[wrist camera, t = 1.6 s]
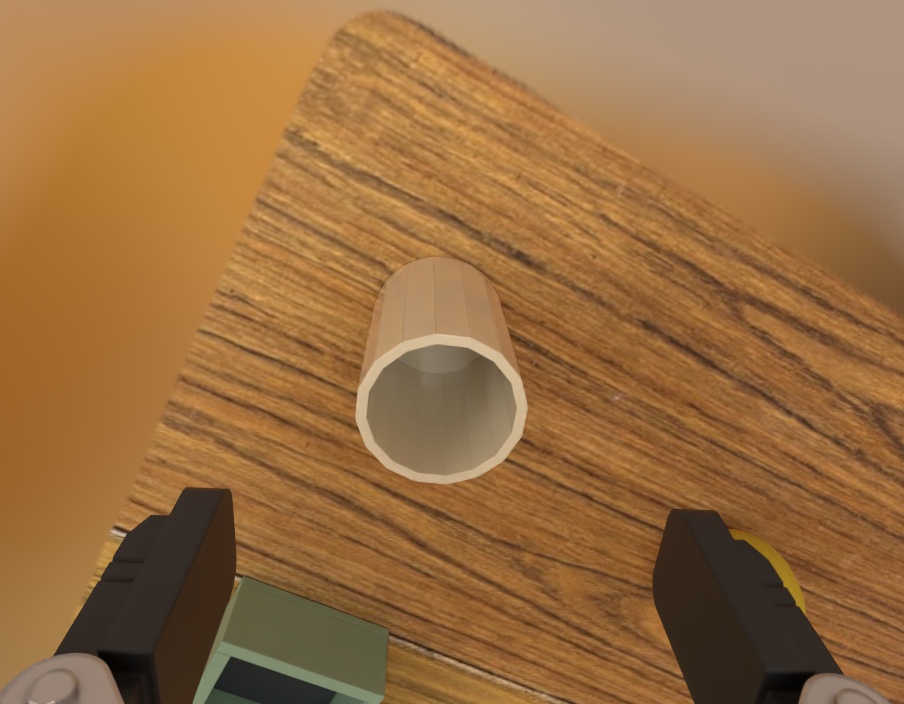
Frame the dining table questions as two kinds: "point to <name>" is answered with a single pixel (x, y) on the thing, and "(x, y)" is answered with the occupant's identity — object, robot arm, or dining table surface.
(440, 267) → the cup
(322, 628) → the holder
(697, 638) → the robot arm
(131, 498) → the dining table surface
